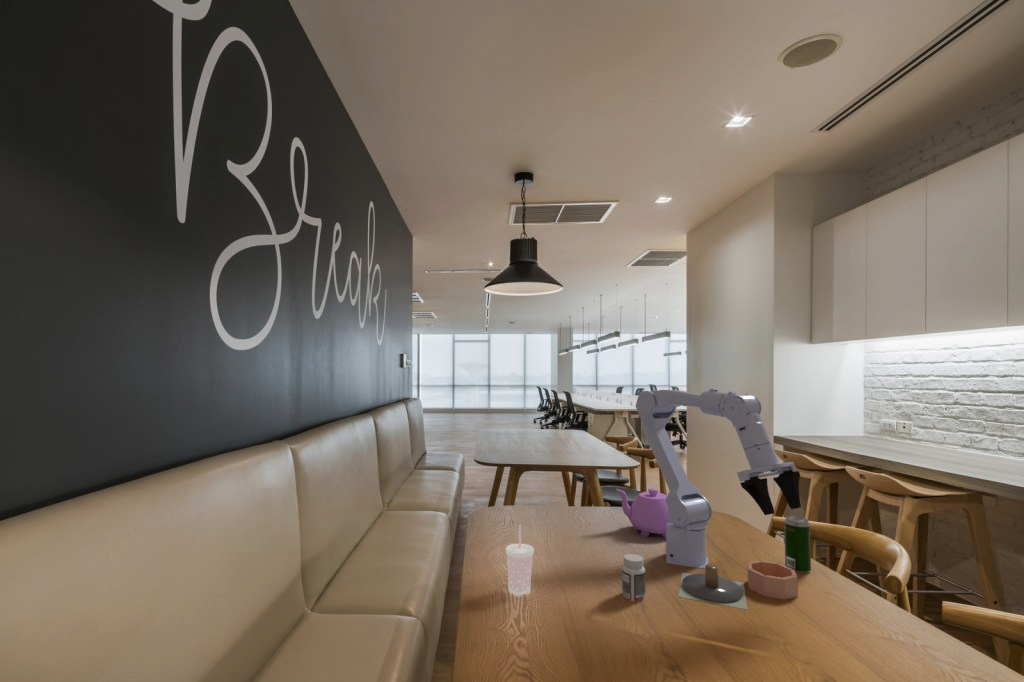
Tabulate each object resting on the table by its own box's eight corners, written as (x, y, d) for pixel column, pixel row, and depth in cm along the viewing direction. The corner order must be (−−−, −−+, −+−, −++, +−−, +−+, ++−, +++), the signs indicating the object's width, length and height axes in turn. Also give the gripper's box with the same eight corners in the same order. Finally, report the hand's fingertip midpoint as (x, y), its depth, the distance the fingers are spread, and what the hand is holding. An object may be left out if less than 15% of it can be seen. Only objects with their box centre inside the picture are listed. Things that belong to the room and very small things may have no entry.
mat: (678, 598, 99) (678, 596, 99) (682, 574, 111) (682, 572, 111) (747, 612, 94) (747, 609, 94) (743, 585, 106) (743, 582, 106)
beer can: (804, 576, 111) (803, 524, 112) (780, 568, 115) (779, 518, 116) (815, 571, 114) (814, 520, 115) (792, 563, 118) (790, 514, 119)
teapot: (618, 538, 135) (618, 493, 136) (613, 522, 149) (613, 482, 150) (691, 542, 132) (691, 496, 133) (679, 526, 146) (679, 484, 147)
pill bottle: (646, 595, 101) (646, 554, 101) (644, 605, 96) (644, 563, 97) (623, 591, 102) (623, 551, 103) (621, 601, 98) (620, 559, 99)
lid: (680, 596, 100) (680, 572, 100) (684, 573, 111) (683, 552, 111) (744, 607, 95) (743, 583, 95) (741, 583, 106) (740, 561, 106)
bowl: (749, 595, 101) (749, 574, 101) (746, 578, 110) (746, 558, 110) (800, 604, 97) (799, 582, 98) (793, 585, 106) (792, 565, 106)
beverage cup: (512, 582, 106) (513, 518, 107) (538, 588, 103) (538, 522, 104) (500, 594, 101) (500, 526, 102) (526, 600, 98) (527, 531, 99)
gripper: (745, 446, 99) (772, 514, 93) (795, 438, 104) (823, 502, 98) (722, 454, 105) (746, 519, 99) (771, 446, 110) (796, 507, 104)
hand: (783, 511), depth 99 cm, fingers open, 7 cm apart
